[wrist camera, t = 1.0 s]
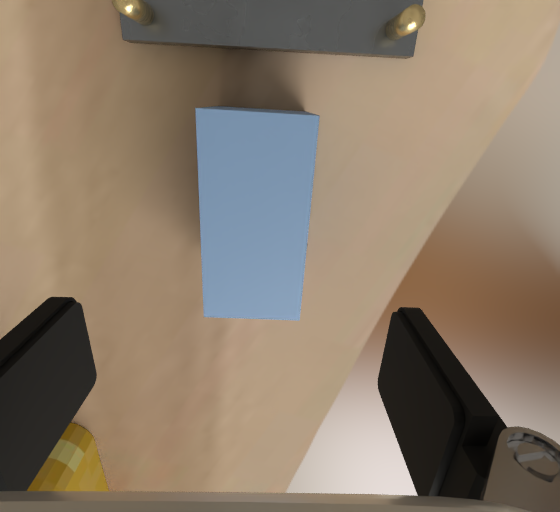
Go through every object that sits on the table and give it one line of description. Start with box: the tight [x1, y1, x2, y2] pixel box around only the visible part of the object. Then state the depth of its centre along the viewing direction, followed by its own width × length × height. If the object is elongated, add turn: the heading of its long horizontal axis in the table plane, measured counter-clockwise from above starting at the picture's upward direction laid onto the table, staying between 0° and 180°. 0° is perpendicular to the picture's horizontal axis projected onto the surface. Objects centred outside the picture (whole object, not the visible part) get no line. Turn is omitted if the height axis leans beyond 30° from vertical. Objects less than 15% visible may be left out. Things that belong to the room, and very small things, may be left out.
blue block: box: [195, 106, 319, 320], centre depth 23 cm, size 12×6×8 cm, turn 177°
